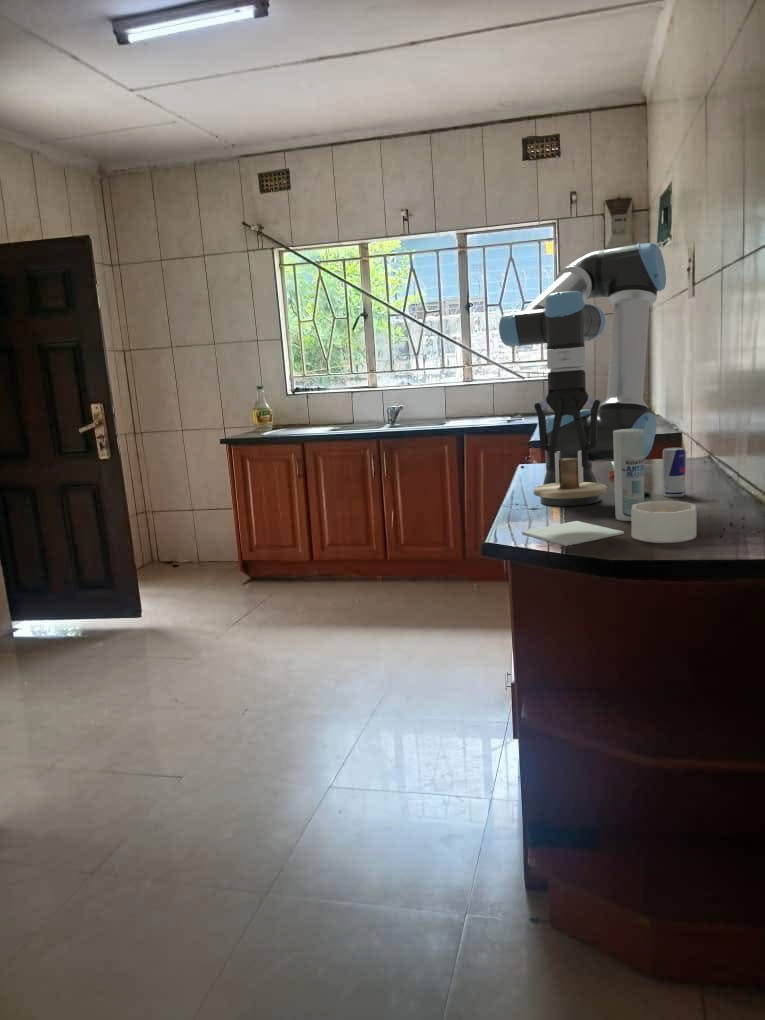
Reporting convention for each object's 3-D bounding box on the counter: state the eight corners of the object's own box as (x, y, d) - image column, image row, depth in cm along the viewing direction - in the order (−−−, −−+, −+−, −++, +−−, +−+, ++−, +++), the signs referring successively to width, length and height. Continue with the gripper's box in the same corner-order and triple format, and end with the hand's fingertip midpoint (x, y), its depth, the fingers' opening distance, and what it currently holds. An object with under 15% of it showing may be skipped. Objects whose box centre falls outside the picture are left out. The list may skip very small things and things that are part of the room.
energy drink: (687, 496, 188) (687, 449, 186) (665, 497, 189) (664, 450, 187) (683, 493, 194) (682, 446, 191) (661, 494, 195) (660, 448, 192)
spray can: (634, 513, 174) (632, 428, 170) (651, 518, 168) (649, 429, 164) (609, 517, 172) (607, 430, 169) (625, 522, 166) (623, 432, 163)
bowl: (618, 535, 155) (617, 507, 154) (663, 525, 160) (663, 498, 159) (663, 546, 144) (663, 515, 143) (710, 535, 149) (710, 506, 148)
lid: (519, 492, 162) (518, 460, 160) (574, 484, 168) (574, 453, 166) (563, 501, 148) (562, 466, 147) (622, 491, 154) (621, 457, 153)
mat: (522, 533, 164) (521, 531, 163) (576, 522, 170) (576, 520, 170) (566, 546, 150) (566, 543, 150) (623, 533, 156) (623, 531, 156)
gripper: (521, 373, 153) (526, 486, 157) (608, 367, 147) (610, 484, 151) (527, 372, 160) (531, 480, 164) (610, 366, 154) (612, 478, 158)
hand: (569, 482), depth 158 cm, fingers closed on lid, 4 cm apart
